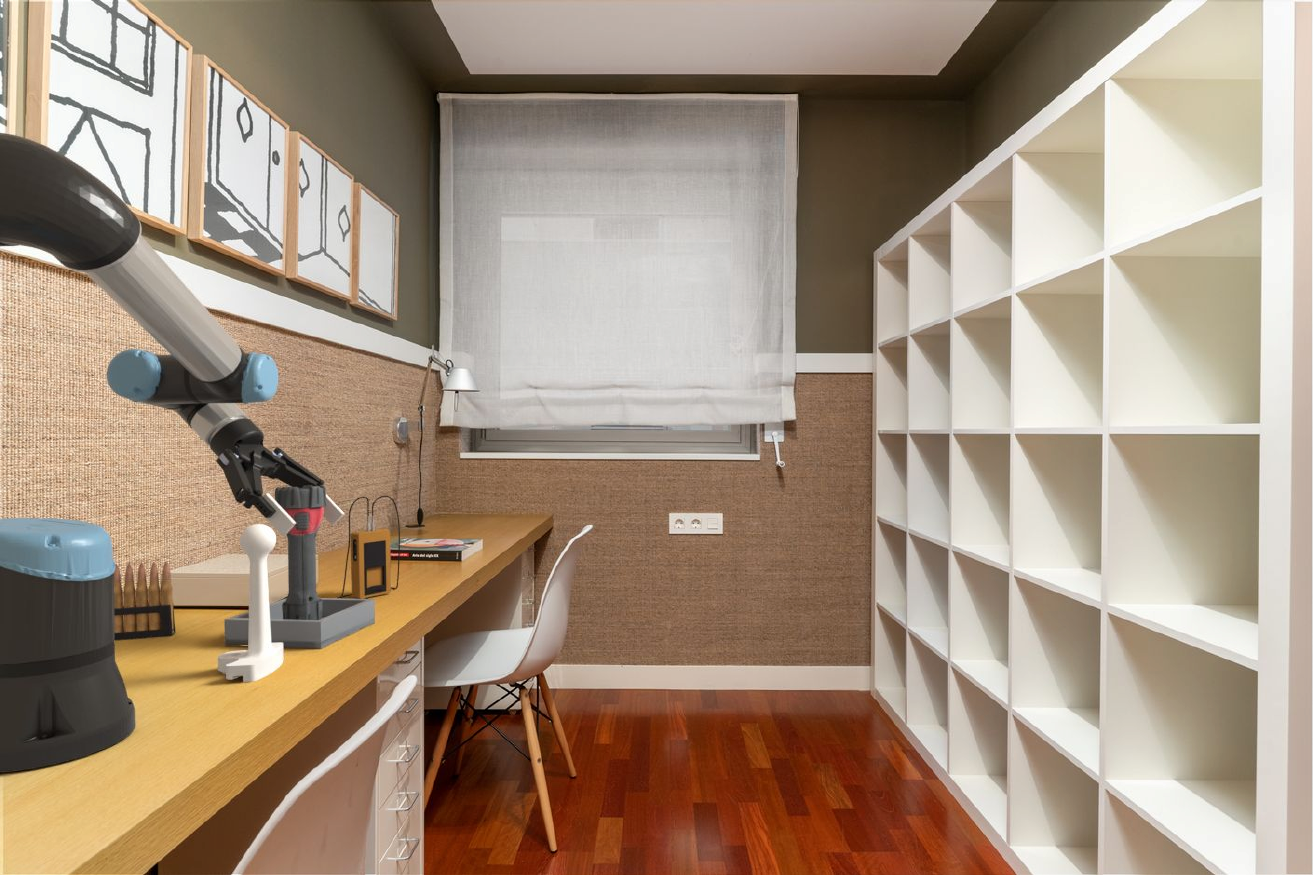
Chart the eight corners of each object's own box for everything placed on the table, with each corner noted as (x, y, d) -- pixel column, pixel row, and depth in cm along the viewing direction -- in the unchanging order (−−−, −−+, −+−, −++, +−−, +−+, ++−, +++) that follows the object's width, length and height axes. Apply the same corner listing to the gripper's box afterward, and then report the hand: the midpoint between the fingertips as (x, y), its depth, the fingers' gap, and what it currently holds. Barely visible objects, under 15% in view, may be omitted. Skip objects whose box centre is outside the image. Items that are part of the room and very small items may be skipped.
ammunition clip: (175, 633, 128) (174, 560, 128) (172, 636, 126) (171, 561, 126) (99, 639, 125) (98, 564, 125) (95, 642, 123) (93, 566, 123)
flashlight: (303, 620, 132) (300, 484, 132) (339, 623, 129) (337, 484, 129) (264, 631, 124) (262, 487, 124) (302, 634, 121) (299, 487, 122)
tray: (321, 648, 118) (320, 621, 118) (224, 645, 120) (224, 619, 120) (374, 622, 133) (374, 599, 133) (288, 620, 136) (288, 597, 136)
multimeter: (377, 585, 166) (375, 491, 166) (406, 590, 160) (405, 493, 160) (312, 598, 154) (310, 497, 154) (342, 604, 148) (340, 499, 148)
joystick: (261, 681, 102) (259, 528, 102) (200, 684, 101) (197, 530, 101) (291, 657, 113) (288, 519, 113) (236, 659, 112) (233, 520, 112)
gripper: (263, 447, 141) (342, 530, 139) (155, 450, 116) (249, 552, 114) (290, 417, 140) (369, 501, 138) (187, 414, 116) (281, 516, 113)
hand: (315, 524), depth 126 cm, fingers open, 13 cm apart
